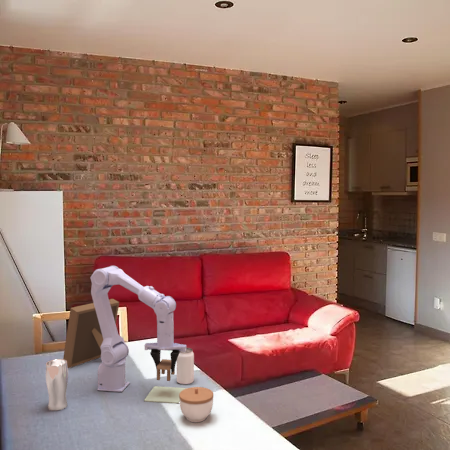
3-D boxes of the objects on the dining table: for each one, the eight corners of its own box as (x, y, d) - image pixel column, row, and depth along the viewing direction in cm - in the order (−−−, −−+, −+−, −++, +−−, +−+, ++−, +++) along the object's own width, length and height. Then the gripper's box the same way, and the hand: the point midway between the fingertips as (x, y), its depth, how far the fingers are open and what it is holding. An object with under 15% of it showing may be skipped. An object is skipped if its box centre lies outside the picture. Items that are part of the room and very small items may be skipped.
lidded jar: (200, 429, 140) (200, 398, 140) (172, 420, 146) (172, 390, 146) (219, 415, 150) (219, 386, 149) (192, 407, 155) (192, 379, 155)
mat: (144, 401, 160) (144, 400, 159) (154, 387, 171) (154, 386, 171) (178, 403, 158) (178, 402, 158) (186, 389, 170) (186, 388, 170)
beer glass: (47, 413, 151) (46, 367, 150) (45, 404, 157) (44, 360, 156) (70, 408, 154) (69, 364, 153) (67, 400, 160) (66, 357, 159)
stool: (162, 372, 168) (162, 359, 168) (174, 373, 168) (174, 360, 168) (156, 380, 162) (156, 365, 161) (169, 381, 161) (169, 366, 161)
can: (191, 385, 173) (191, 353, 172) (174, 384, 174) (174, 352, 174) (195, 378, 179) (195, 347, 179) (179, 377, 181) (179, 346, 180)
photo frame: (62, 365, 193) (61, 305, 191) (104, 351, 211) (104, 296, 209) (85, 374, 184) (85, 311, 183) (127, 358, 202) (127, 301, 200)
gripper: (141, 334, 160) (142, 373, 161) (183, 336, 158) (183, 375, 159) (147, 329, 167) (148, 366, 168) (187, 330, 165) (187, 368, 166)
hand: (165, 370), depth 164 cm, fingers closed on stool, 5 cm apart
